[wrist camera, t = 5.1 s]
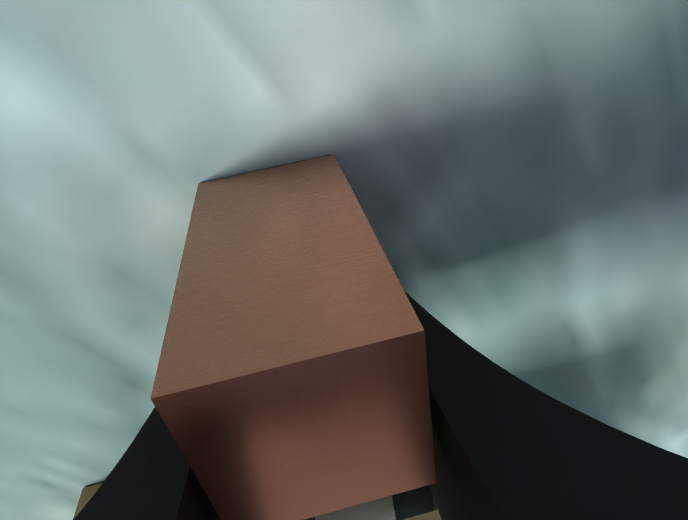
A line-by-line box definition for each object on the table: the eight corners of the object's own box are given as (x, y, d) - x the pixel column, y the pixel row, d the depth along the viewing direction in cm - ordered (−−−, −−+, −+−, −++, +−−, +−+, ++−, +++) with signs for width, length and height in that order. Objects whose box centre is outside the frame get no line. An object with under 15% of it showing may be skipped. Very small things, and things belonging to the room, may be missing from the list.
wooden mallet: (333, 154, 10) (424, 330, 5) (400, 536, 19) (455, 733, 14) (198, 183, 10) (150, 398, 5) (331, 556, 19) (362, 763, 14)
